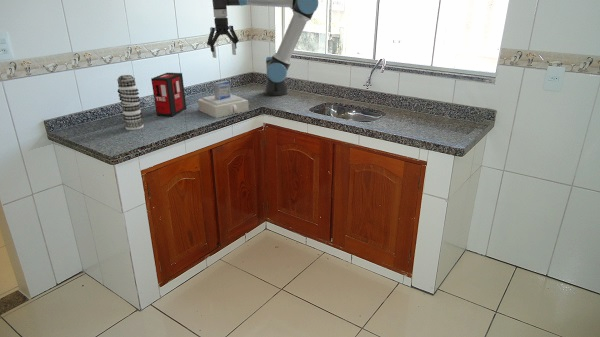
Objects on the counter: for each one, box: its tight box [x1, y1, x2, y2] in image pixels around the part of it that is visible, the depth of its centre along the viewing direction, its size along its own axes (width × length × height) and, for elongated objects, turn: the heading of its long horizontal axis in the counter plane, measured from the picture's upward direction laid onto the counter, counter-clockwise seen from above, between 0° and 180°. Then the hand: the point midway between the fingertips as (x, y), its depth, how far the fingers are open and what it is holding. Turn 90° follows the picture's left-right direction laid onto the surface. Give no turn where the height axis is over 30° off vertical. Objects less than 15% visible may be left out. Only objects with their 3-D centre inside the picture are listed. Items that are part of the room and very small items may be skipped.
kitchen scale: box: [197, 93, 250, 119], centre depth 221 cm, size 20×21×7 cm
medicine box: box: [212, 80, 231, 100], centre depth 218 cm, size 8×4×9 cm, turn 142°
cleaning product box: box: [151, 72, 187, 118], centre depth 217 cm, size 16×9×20 cm, turn 168°
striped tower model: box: [116, 74, 144, 131], centre depth 192 cm, size 9×9×25 cm
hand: (224, 56), depth 235 cm, fingers open, 13 cm apart
